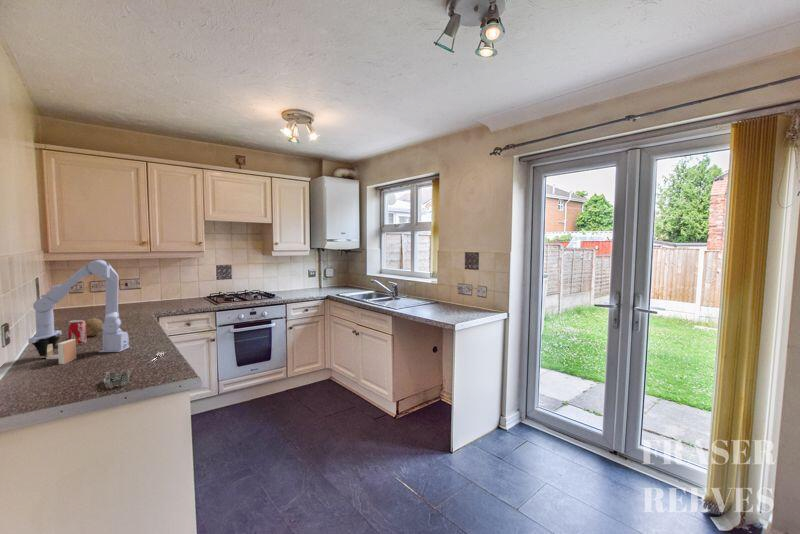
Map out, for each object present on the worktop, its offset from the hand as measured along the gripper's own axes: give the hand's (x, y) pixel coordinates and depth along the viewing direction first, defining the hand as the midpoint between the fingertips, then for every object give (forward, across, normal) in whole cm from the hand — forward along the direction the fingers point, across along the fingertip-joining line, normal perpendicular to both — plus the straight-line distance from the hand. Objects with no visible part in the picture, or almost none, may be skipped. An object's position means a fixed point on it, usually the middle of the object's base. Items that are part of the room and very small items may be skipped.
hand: (46, 354), depth 159 cm
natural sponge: (+2, -38, -6) cm, 39 cm away
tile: (+2, +6, +13) cm, 14 cm away
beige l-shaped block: (+1, 0, +3) cm, 4 cm away
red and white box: (+2, -22, -3) cm, 22 cm away
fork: (+2, +10, +49) cm, 50 cm away
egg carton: (+2, +33, +50) cm, 60 cm away
